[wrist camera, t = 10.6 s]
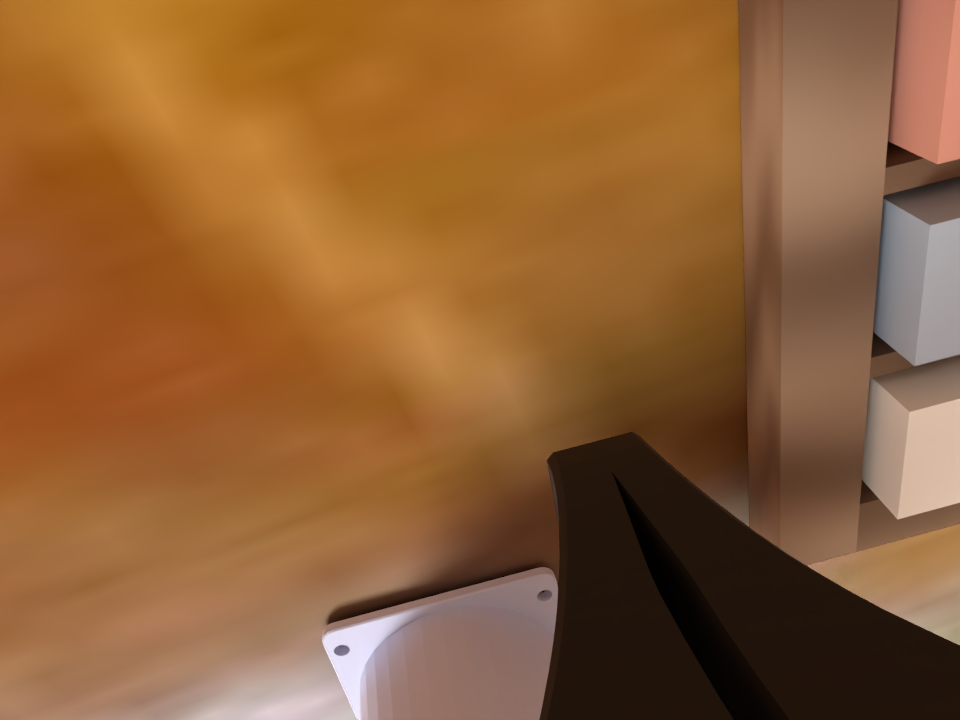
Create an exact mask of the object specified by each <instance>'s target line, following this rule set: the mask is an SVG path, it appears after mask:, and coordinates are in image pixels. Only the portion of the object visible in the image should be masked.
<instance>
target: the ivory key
mask: <svg viewBox="0 0 960 720" xmlns="http://www.w3.org/2000/svg"><path fill="white" fill-rule="evenodd" d="M862 480H863V481H864V482H865V484H866V485H867V486H868V487H869V488H870V489H871V490H872V491H873V493H874V494H875V495H876V496H877V497H878V498H879V499H880V500H881V501H882V503H883V504H884V505H885V506H886V507H887V508H888V509H889V510H890V512H891V513H892V514H893V515H894V516H895V517H896V518H897V519H901V518H905V517H909V516H912V515H916V514H920V513H923V512H927V511H931V510H935V509H938V508H942V507H946V506H949V505H953V504H957V503H960V355H958V356H954V357H951V358H947V359H943V360H939V361H935V362H931V363H928V364H924V365H920V366H916V367H912V368H909V369H905V370H901V371H897V372H893V373H890V374H886V375H882V376H878V377H874V378H871V379H869V390H868V403H867V416H866V429H865V442H864V455H863V469H862Z"/></svg>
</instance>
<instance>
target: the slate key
mask: <svg viewBox="0 0 960 720" xmlns="http://www.w3.org/2000/svg"><path fill="white" fill-rule="evenodd" d="M873 332H874V333H875V334H876V335H878V336H879V337H880V338H881V339H882V340H884V341H885V342H886V343H887V344H888V345H890V346H891V347H892V348H893V349H894V350H896V351H897V352H898V353H899V354H900V355H902V356H903V357H904V358H905V359H906V360H908V361H909V362H910V363H911V364H912V365H914V366H917V365H921V364H925V363H929V362H932V361H936V360H940V359H944V358H948V357H951V356H955V355H959V354H960V176H958V177H954V178H950V179H946V180H942V181H938V182H934V183H931V184H927V185H923V186H919V187H915V188H911V189H907V190H903V191H899V192H895V193H891V194H887V195H883V207H882V220H881V233H880V246H879V259H878V272H877V285H876V299H875V312H874V325H873Z"/></svg>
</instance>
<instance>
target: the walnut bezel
mask: <svg viewBox="0 0 960 720" xmlns="http://www.w3.org/2000/svg"><path fill="white" fill-rule="evenodd" d="M738 6H739V53H740V100H741V147H742V194H743V241H744V288H745V335H746V382H747V429H748V476H749V523H750V528H751V529H752V530H754V531H755V532H757V533H758V534H759V535H761V536H762V537H764V538H765V539H767V540H768V541H770V542H771V543H773V544H774V545H776V546H777V547H778V548H780V549H781V550H783V551H784V552H786V553H787V554H789V555H790V556H792V557H794V558H795V559H797V560H798V561H800V562H801V563H803V564H804V565H810V564H814V563H817V562H821V561H825V560H828V559H832V558H836V557H839V556H843V555H847V554H850V553H854V552H858V551H861V550H865V549H869V548H872V547H876V546H880V545H884V544H887V543H891V542H895V541H898V540H902V539H906V538H909V537H913V536H917V535H920V534H924V533H928V532H931V531H935V530H939V529H942V528H946V527H950V526H954V525H957V524H960V503H957V504H953V505H949V506H946V507H942V508H938V509H935V510H931V511H927V512H923V513H920V514H916V515H912V516H909V517H905V518H901V519H897V518H896V517H895V516H894V515H893V514H892V513H891V512H890V510H889V509H888V508H887V507H886V506H885V505H884V504H883V503H882V501H881V500H880V499H879V498H878V497H877V496H876V495H875V494H874V493H873V491H872V490H871V489H870V488H869V487H868V486H867V485H866V484H865V482H864V481H863V480H862V469H863V455H864V442H865V429H866V416H867V403H868V390H869V379H871V378H874V377H878V376H882V375H886V374H890V373H893V372H897V371H901V370H905V369H909V368H912V367H916V366H914V365H912V364H911V363H910V362H909V361H908V360H906V359H905V358H904V357H903V356H902V355H900V354H899V353H898V352H897V351H896V350H894V349H893V348H892V347H891V346H890V345H888V344H887V343H886V342H885V341H884V340H882V339H881V338H880V337H879V336H878V335H876V334H875V333H874V332H873V325H874V312H875V299H876V285H877V272H878V259H879V246H880V233H881V220H882V207H883V195H887V194H891V193H895V192H899V191H903V190H907V189H911V188H915V187H919V186H923V185H927V184H931V183H934V182H938V181H942V180H946V179H950V178H954V177H958V176H960V159H957V160H953V161H949V162H945V163H941V164H935V163H933V162H931V161H929V160H927V159H925V158H922V157H920V156H918V155H916V154H914V153H912V152H910V151H908V150H906V149H903V148H901V147H899V146H897V145H895V144H893V143H891V142H889V141H888V128H889V115H890V102H891V89H892V76H893V63H894V50H895V37H896V24H897V11H898V0H738ZM959 355H960V354H959ZM955 356H958V355H955ZM951 357H954V356H951ZM951 357H948V358H951ZM944 359H947V358H944ZM940 360H943V359H940ZM936 361H939V360H936ZM932 362H935V361H932ZM929 363H931V362H929ZM925 364H928V363H925ZM921 365H924V364H921ZM917 366H920V365H917Z"/></svg>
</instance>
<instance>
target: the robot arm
mask: <svg viewBox="0 0 960 720" xmlns="http://www.w3.org/2000/svg"><path fill="white" fill-rule="evenodd" d="M547 464H548V469H549V474H550V480H551V485H552V490H553V495H554V500H555V506H556V511H557V516H558V521H559V541H560V567H559V584H558V585H557V581H556V578H555V575H554V573H553V571H552V570H551V569H549V568H546V567H540V568H535V569H531V570H527V571H524V572H520V573H516V574H512V575H509V576H505V577H501V578H497V579H494V580H490V581H486V582H483V583H479V584H475V585H471V586H468V587H464V588H460V589H456V590H453V591H449V592H445V593H441V594H438V595H434V596H430V597H427V598H423V599H419V600H415V601H412V602H408V603H404V604H400V605H397V606H393V607H389V608H385V609H382V610H378V611H374V612H371V613H367V614H363V615H359V616H356V617H352V618H348V619H344V620H341V621H337V622H333V623H331V624H329V625H327V626H326V627H325V628H324V629H323V632H322V642H323V645H324V647H325V650H326V652H327V654H328V656H329V658H330V661H331V663H332V665H333V667H334V669H335V672H336V674H337V676H338V678H339V680H340V683H341V685H342V687H343V689H344V692H345V694H346V696H347V698H348V700H349V703H350V705H351V707H352V709H353V711H354V714H355V716H356V718H357V720H960V645H958V644H955V643H953V642H951V641H949V640H946V639H944V638H942V637H940V636H938V635H936V634H934V633H932V632H930V631H928V630H925V629H923V628H921V627H919V626H917V625H915V624H913V623H911V622H909V621H907V620H904V619H902V618H900V617H898V616H896V615H894V614H892V613H890V612H888V611H886V610H883V609H882V608H880V607H878V606H876V605H874V604H872V603H870V602H869V601H867V600H865V599H863V598H861V597H859V596H857V595H856V594H854V593H852V592H850V591H848V590H847V589H845V588H843V587H841V586H840V585H838V584H836V583H835V582H833V581H831V580H829V579H828V578H826V577H824V576H822V575H821V574H819V573H817V572H816V571H814V570H813V569H811V568H809V567H808V566H806V565H804V564H803V563H801V562H800V561H798V560H797V559H795V558H794V557H792V556H790V555H789V554H787V553H786V552H784V551H783V550H781V549H780V548H778V547H777V546H776V545H774V544H773V543H771V542H770V541H768V540H767V539H765V538H764V537H762V536H761V535H759V534H758V533H757V532H755V531H754V530H752V529H751V528H750V527H748V526H747V525H745V524H744V523H743V522H741V521H740V520H739V519H737V518H736V517H735V516H733V515H732V514H731V513H729V512H728V511H727V510H726V509H724V508H723V507H722V506H720V505H719V504H718V503H717V502H715V501H714V500H713V499H711V498H710V497H709V496H707V495H706V494H705V493H704V492H702V491H701V490H700V489H699V488H698V487H696V486H695V485H694V484H693V483H691V482H690V481H689V480H688V479H687V478H686V477H684V476H683V475H682V474H681V473H680V472H679V471H677V470H676V469H675V468H674V467H673V466H672V465H670V464H669V463H668V462H667V461H666V460H665V459H664V458H663V457H661V456H660V455H659V454H658V453H657V452H656V451H655V450H654V449H653V448H652V447H651V446H649V445H648V444H647V443H646V442H645V441H644V440H643V439H642V438H641V437H640V436H638V435H637V434H635V433H633V432H630V433H626V434H622V435H619V436H615V437H611V438H607V439H603V440H600V441H596V442H592V443H588V444H584V445H581V446H577V447H573V448H569V449H565V450H561V451H558V452H554V453H553V454H552V455H551V456H550V457H549V459H548V460H547ZM543 590H547V591H545V592H542V593H539V592H541V591H543ZM339 645H345V646H339Z"/></svg>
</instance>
